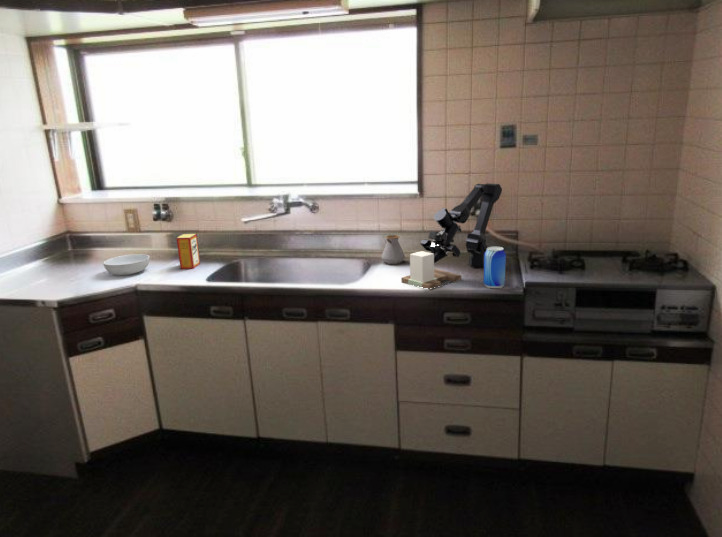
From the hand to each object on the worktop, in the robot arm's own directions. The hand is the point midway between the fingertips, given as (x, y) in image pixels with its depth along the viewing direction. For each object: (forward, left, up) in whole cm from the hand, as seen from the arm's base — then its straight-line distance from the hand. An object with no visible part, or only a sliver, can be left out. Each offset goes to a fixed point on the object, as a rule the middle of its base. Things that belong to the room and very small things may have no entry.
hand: (430, 264), depth 225 cm
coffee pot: (+7, -31, -8) cm, 33 cm away
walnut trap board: (0, 0, -7) cm, 7 cm away
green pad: (+5, +2, -7) cm, 9 cm away
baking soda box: (+101, -68, -8) cm, 122 cm away
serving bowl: (+130, -68, -8) cm, 147 cm away
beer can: (-21, +17, -8) cm, 28 cm away
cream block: (+5, +2, -5) cm, 8 cm away
